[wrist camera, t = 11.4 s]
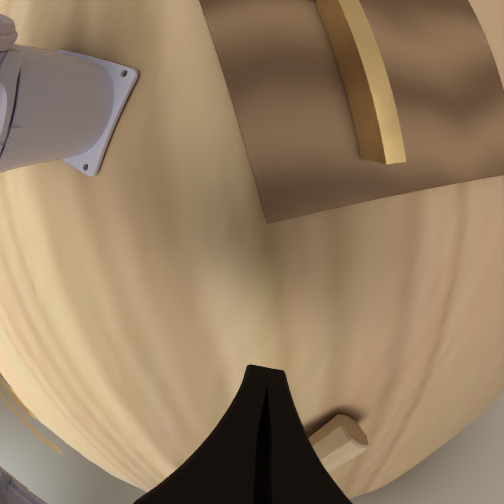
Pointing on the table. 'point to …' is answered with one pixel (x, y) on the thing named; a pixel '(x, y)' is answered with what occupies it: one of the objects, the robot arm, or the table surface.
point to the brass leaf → (364, 81)
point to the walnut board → (337, 107)
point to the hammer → (338, 441)
